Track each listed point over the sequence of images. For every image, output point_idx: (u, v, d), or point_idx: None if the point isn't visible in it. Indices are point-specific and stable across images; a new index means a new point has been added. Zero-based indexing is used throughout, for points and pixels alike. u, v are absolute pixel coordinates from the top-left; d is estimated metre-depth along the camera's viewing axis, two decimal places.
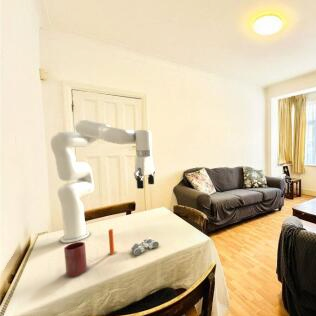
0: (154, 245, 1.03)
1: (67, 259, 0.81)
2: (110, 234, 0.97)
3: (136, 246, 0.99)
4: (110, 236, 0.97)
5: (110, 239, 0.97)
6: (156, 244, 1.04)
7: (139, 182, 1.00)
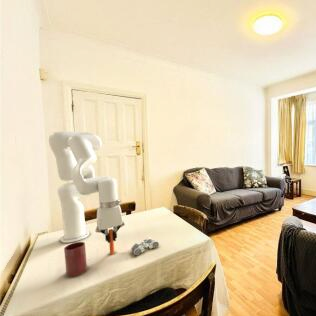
0: (154, 245, 1.03)
1: (67, 259, 0.81)
2: (110, 234, 0.97)
3: (136, 246, 0.99)
4: (110, 236, 0.97)
5: (110, 239, 0.97)
6: (156, 244, 1.04)
7: (105, 236, 0.96)
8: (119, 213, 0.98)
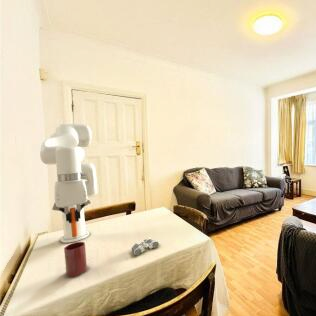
0: (154, 245, 1.03)
1: (67, 259, 0.81)
2: (72, 213, 0.82)
3: (136, 246, 0.99)
4: (72, 216, 0.82)
5: (72, 219, 0.82)
6: (156, 244, 1.04)
7: (66, 215, 0.81)
8: (83, 188, 0.83)
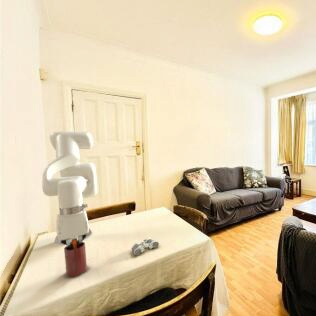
0: (154, 245, 1.03)
1: (67, 259, 0.81)
2: (73, 245, 0.83)
3: (136, 246, 0.99)
4: (73, 247, 0.83)
5: None
6: (156, 244, 1.04)
7: None
8: (84, 220, 0.84)
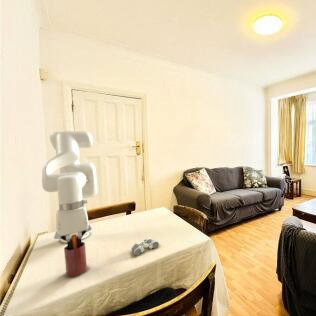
0: (154, 245, 1.03)
1: (67, 259, 0.81)
2: (73, 240, 0.83)
3: (136, 246, 0.99)
4: (73, 243, 0.83)
5: (73, 246, 0.83)
6: (156, 244, 1.04)
7: None
8: (84, 216, 0.84)
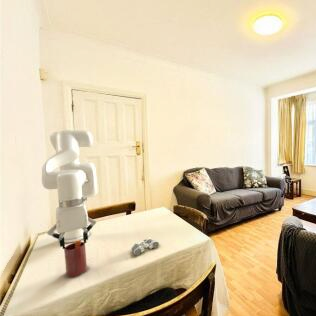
0: (154, 245, 1.03)
1: (67, 259, 0.81)
2: (77, 246, 0.85)
3: (136, 246, 0.99)
4: None
5: None
6: (156, 244, 1.04)
7: None
8: (84, 213, 0.83)
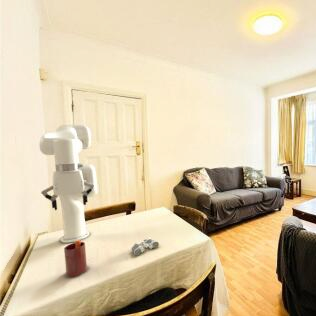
0: (154, 245, 1.03)
1: (67, 259, 0.81)
2: (77, 246, 0.85)
3: (136, 246, 0.99)
4: None
5: None
6: (156, 244, 1.04)
7: None
8: (80, 178, 0.87)
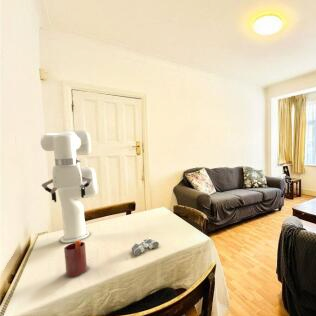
0: (154, 245, 1.03)
1: (67, 259, 0.81)
2: (77, 246, 0.85)
3: (136, 246, 0.99)
4: None
5: None
6: (156, 244, 1.04)
7: (51, 194, 0.88)
8: (78, 172, 0.92)
